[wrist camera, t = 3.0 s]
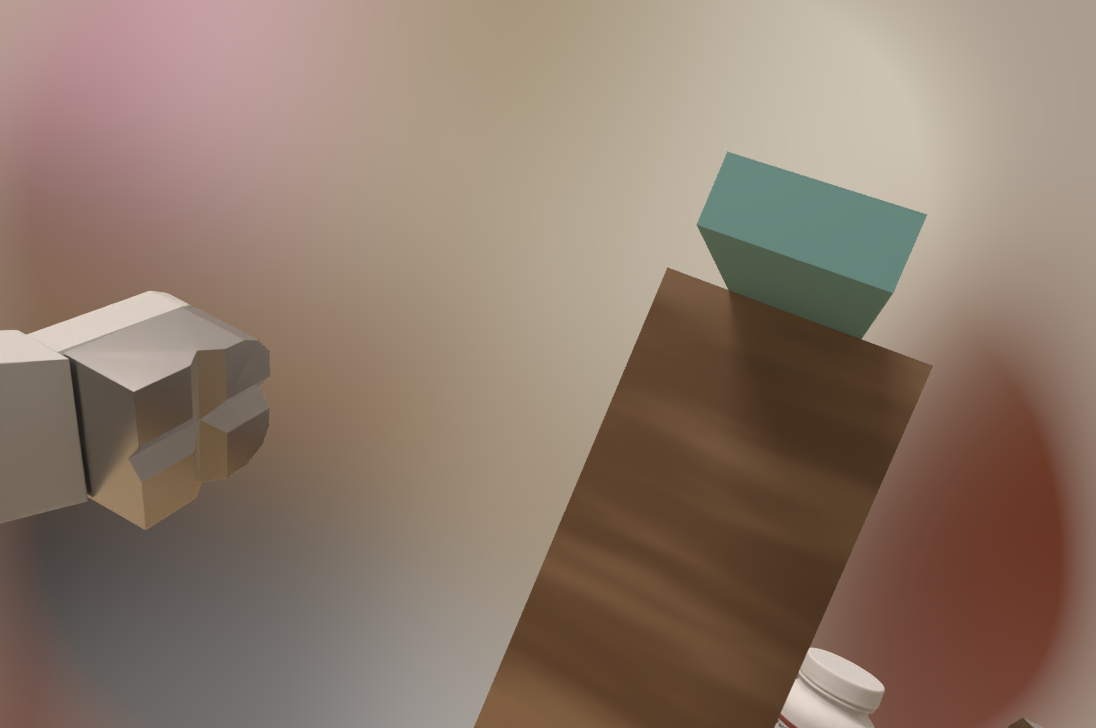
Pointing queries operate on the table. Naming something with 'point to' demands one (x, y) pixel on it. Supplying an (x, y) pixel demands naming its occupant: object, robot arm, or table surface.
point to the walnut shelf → (706, 520)
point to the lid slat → (806, 243)
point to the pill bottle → (830, 694)
